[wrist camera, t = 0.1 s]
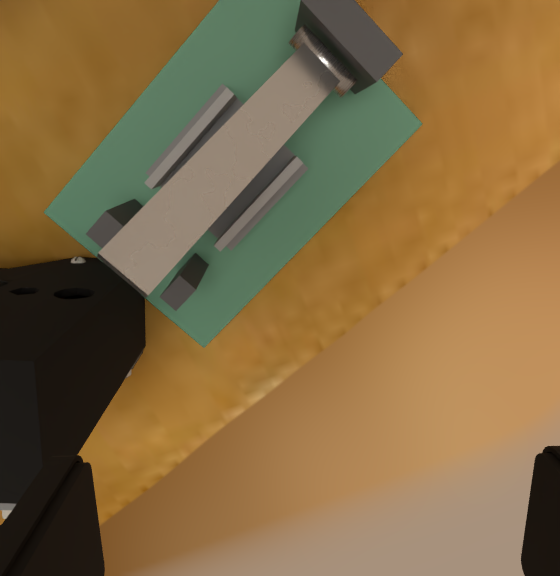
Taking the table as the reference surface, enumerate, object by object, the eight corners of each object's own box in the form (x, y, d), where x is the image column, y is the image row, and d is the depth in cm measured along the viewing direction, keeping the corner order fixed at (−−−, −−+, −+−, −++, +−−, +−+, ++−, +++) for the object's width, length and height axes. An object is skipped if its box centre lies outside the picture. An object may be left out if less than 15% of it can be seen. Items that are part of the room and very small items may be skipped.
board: (261, -45, 35) (258, -107, 26) (418, 124, 38) (461, 119, 30) (50, 210, 40) (-14, 230, 31) (205, 342, 43) (188, 394, 34)
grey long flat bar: (298, 34, 31) (308, 20, 30) (349, 87, 32) (360, 76, 31) (85, 248, 25) (86, 241, 23) (155, 307, 26) (160, 304, 24)
